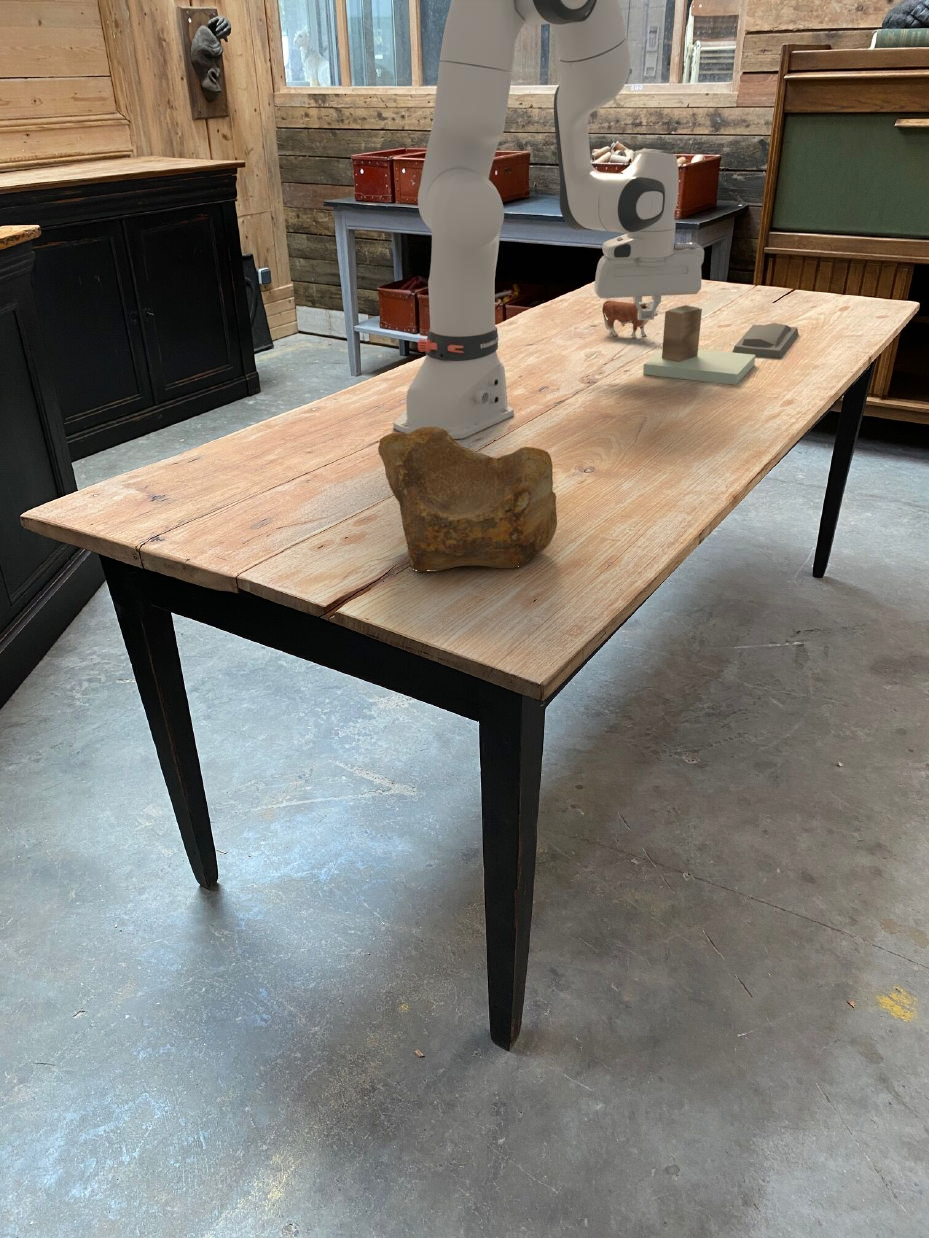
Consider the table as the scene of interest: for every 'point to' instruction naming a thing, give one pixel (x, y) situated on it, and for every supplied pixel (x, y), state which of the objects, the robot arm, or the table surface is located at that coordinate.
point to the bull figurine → (625, 315)
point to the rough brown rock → (469, 501)
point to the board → (703, 367)
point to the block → (681, 333)
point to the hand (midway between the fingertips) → (645, 319)
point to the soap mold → (767, 340)
